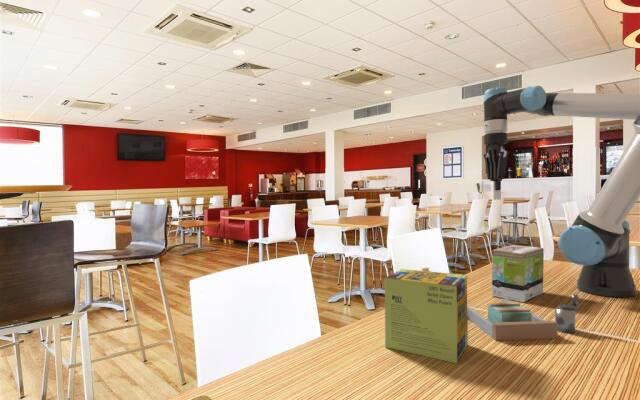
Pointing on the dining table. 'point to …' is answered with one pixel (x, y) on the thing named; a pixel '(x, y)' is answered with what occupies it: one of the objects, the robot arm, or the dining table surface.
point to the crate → (508, 312)
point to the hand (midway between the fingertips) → (496, 199)
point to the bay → (515, 327)
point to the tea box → (517, 272)
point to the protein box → (426, 313)
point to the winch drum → (566, 316)
